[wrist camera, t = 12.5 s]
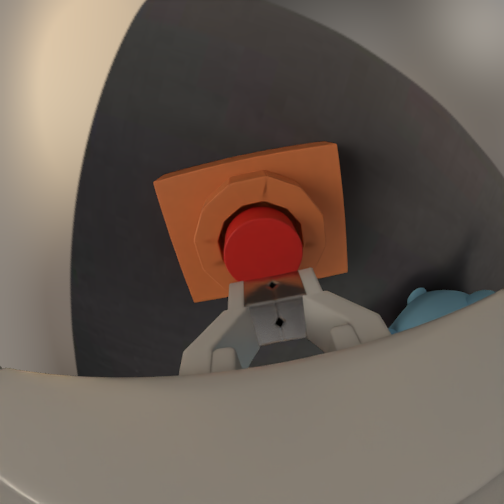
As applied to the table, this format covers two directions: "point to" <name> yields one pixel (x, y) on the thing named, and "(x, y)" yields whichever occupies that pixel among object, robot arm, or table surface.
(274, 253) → the button
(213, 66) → the table surface
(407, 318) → the teapot
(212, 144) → the table surface
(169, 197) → the button box
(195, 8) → the table surface
